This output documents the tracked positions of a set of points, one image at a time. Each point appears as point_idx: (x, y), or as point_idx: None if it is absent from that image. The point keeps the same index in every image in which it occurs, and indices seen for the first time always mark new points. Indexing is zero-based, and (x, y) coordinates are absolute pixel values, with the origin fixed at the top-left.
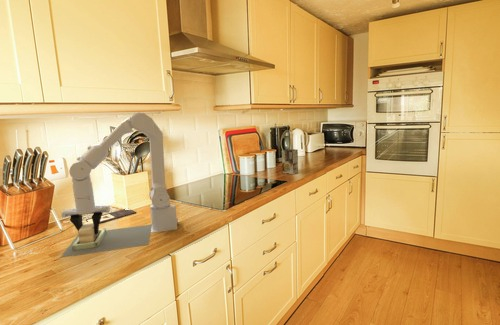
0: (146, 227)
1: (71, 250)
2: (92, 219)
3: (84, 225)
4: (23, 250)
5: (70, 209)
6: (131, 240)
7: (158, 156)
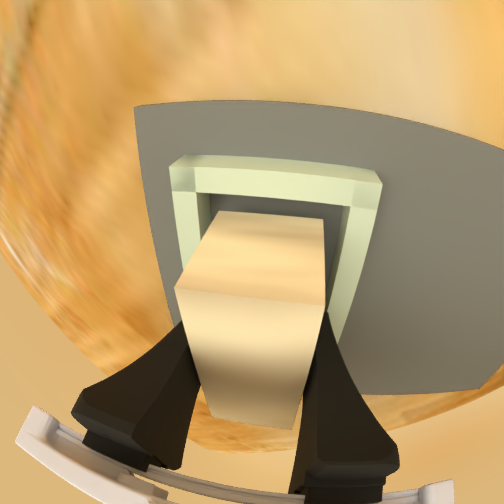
0: None
1: None
2: (293, 471)
3: (213, 369)
4: (12, 232)
5: (48, 468)
6: (463, 353)
7: None
